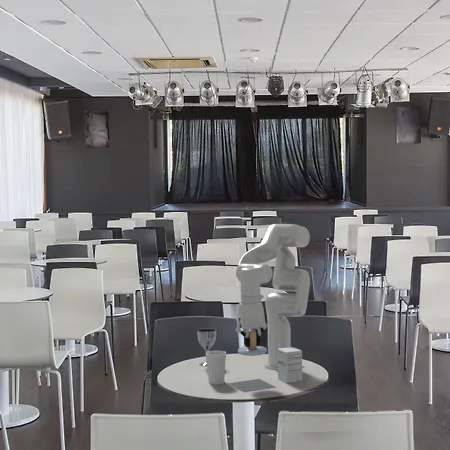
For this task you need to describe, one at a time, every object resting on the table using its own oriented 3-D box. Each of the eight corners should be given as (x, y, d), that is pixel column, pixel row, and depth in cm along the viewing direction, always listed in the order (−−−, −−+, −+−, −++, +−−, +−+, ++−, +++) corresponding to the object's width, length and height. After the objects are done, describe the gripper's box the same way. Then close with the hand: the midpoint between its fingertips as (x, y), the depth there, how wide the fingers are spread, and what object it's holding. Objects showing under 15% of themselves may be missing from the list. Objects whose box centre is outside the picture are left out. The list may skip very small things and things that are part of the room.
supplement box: (277, 379, 310) (277, 348, 309) (293, 377, 313) (293, 346, 312) (286, 384, 303) (285, 352, 302) (302, 381, 306) (302, 350, 305)
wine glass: (205, 361, 342) (205, 327, 341) (220, 363, 337) (219, 329, 336) (194, 364, 336) (193, 330, 335) (209, 367, 331) (208, 332, 330)
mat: (259, 379, 310) (259, 378, 310) (276, 388, 297) (276, 387, 297) (227, 384, 304) (227, 383, 304) (243, 393, 291) (243, 392, 291)
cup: (224, 386, 302) (223, 355, 301) (204, 385, 303) (203, 354, 303) (228, 380, 310) (227, 350, 309) (208, 379, 311) (208, 350, 310)
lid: (258, 346, 308) (257, 326, 307) (271, 353, 298) (271, 332, 297) (233, 350, 303) (232, 330, 302) (246, 357, 293) (245, 336, 293)
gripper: (265, 295, 305) (266, 341, 307) (227, 300, 298) (228, 347, 300) (274, 298, 299) (275, 345, 301) (235, 303, 292) (237, 351, 294)
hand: (252, 345), depth 300 cm, fingers closed on lid, 3 cm apart
